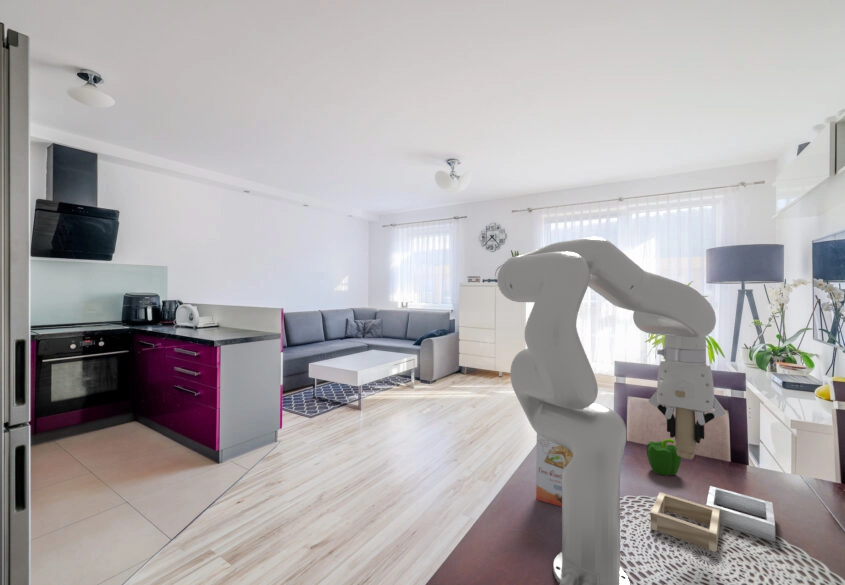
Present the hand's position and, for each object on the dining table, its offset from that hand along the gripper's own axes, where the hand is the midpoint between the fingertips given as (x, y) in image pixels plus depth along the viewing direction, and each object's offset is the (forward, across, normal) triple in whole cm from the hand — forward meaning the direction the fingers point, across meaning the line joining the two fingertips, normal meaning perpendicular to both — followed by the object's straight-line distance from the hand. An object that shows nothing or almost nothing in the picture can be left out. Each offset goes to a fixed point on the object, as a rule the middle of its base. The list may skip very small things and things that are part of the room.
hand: (685, 437), depth 82 cm
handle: (+4, 0, 0) cm, 4 cm away
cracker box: (+20, -23, -8) cm, 32 cm away
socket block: (+20, +9, +12) cm, 25 cm away
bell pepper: (+20, -8, +27) cm, 34 cm away
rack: (+20, 0, 0) cm, 20 cm away
